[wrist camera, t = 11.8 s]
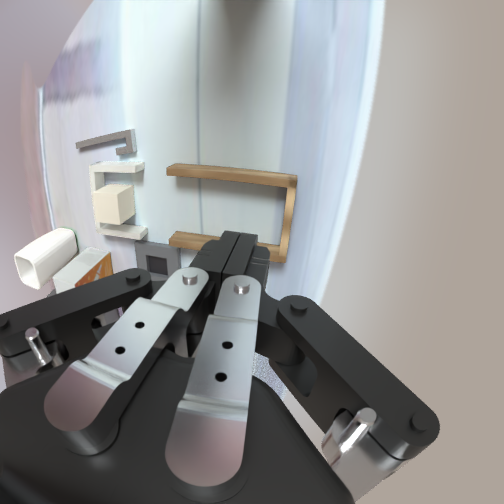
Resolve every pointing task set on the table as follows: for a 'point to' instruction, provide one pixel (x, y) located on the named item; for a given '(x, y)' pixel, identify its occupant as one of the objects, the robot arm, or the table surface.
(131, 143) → the crook tool
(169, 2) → the table surface
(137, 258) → the hole frame
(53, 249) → the white rounded prism
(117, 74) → the table surface
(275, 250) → the wooden u-shaped frame
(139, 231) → the cream bay
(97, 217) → the cream cube
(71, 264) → the small box
